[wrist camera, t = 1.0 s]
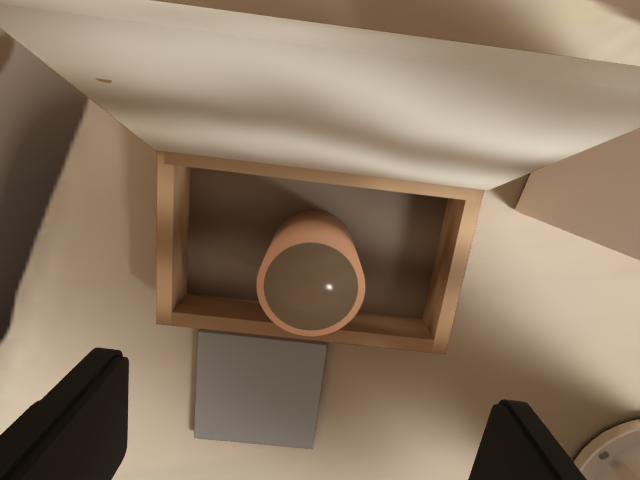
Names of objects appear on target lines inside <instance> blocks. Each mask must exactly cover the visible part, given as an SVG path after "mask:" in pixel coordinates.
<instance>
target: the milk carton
mask: <svg viewBox="0 0 640 480" xmlns="http://www.w3.org/2000/svg"><path fill="white" fill-rule="evenodd" d="M515 210H516V211H517V212H520V213H522V214H525V215H527V216H530V217H532V218H535V219H537V220H540V221H542V222H545V223H547V224H550V225H552V226H555V227H557V228H560V229H562V230H565V231H567V232H570V233H572V234H575V235H577V236H580V237H582V238H585V239H587V240H590V241H592V242H595V243H597V244H600V245H603V246H605V247H608V248H610V249H613V250H615V251H618V252H620V253H623V254H625V255H628V256H630V257H633V258H635V259H638V260H640V128H637V129H635V130H632V131H630V132H628V133H625V134H623V135H620V136H618V137H616V138H613V139H611V140H608V141H606V142H603V143H601V144H599V145H596V146H594V147H591V148H589V149H587V150H584V151H582V152H579V153H577V154H575V155H572V156H570V157H567V158H565V159H563V160H560V161H558V162H555V163H553V164H551V165H548V166H546V167H543V168H541V169H539V170H536V171H534V172H531V174H530V176H529V178H528V181H527V183H526V185H525V188H524V190H523V192H522V195H521V197H520V199H519V202H518V204H517V206H516V209H515Z"/></svg>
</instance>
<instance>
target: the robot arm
mask: <svg viewBox="0 0 640 480" xmlns="http://www.w3.org/2000/svg"><path fill="white" fill-rule="evenodd" d="M128 380H129V360H128V358H127V357H123V354H122V352H121V351H120V350H113V349H105V348H94V349H93V350H92V351H91V352H90V353H89V354H88V355H87V356H86V357H85V358H84V359H83V360H81V361H80V362H79V363H78V364H77V365H76V366H75V367H74V368H73V369H72V370H71V371H70V372H69V373H68V374H67V375H66V376H65V377H64V378H63V379H62V380H61V381H60V382H59V383H58V384H57V385H56V386H55V387H54V388H53V389H52V390H51V391H50V392H49V393H48V394H47V395H46V396H45V397H44V398H43V399H41V400H40V401H37V402H36V403H34V404H33V405H32V406H30V407H29V408H28V409H27V410H26V411H25V412H24V413H23V414H22V415H21V416H20V417H19V418H18V419H17V420H16V421H15V422H14V423H13V424H12V425H11V426H10V427H8V428H7V429H6V430H5V431H4V432H3V433H2V434H1V435H0V480H111V479H112V478H113V476H114V474H115V473H116V471H117V469H118V467H119V466H120V464H121V462H122V460H123V458H124V456H125V453H126V449H127V431H128ZM468 480H640V419H638V420H632V421H629V422H626V423H623V424H620V425H617V426H615V427H613V428H611V429H609V430H607V431H605V432H603V433H602V434H600V435H599V436H598V437H596V438H595V439H593V440H592V441H591V442H590V443H589V444H588V445H587V446H586V447H585V448H584V449H583V450H582V451H581V452H580V454H579V455H578V456H577V458H576V459H575V461H574V462H573V461H572V460H571V459H570V457H569V456H568V455H567V453H566V452H565V451H564V449H563V448H562V447H561V446H560V444H559V443H558V442H557V440H556V439H555V438H554V437H553V435H552V434H551V433H550V431H549V430H548V429H547V428H546V426H545V425H544V424H543V422H542V421H541V420H540V419H539V417H538V416H537V415H536V413H535V412H534V411H533V409H532V408H531V407H530V406H529V405H528V404H527V403H525V402H520V401H512V400H505V399H504V400H501V401H500V402H499V403H498V405H497V404H496V405H494V406H493V407H492V409H491V412H490V415H489V419H488V422H487V425H486V428H485V431H484V434H483V437H482V440H481V443H480V446H479V449H478V452H477V455H476V458H475V461H474V464H473V467H472V470H471V473H470V476H469V479H468Z"/></svg>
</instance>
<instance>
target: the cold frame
mask: <svg viewBox="0 0 640 480" xmlns="http://www.w3.org/2000/svg"><path fill="white" fill-rule="evenodd" d="M0 28H1V29H3V30H4V31H5V32H6V33H8V34H9V35H10V36H12V37H13V38H14V39H15V40H17V41H18V42H19V43H20V44H22V45H23V46H24V47H25V48H27V49H28V50H29V51H30V52H32V53H33V54H34V55H35V56H37V57H38V58H39V59H41V60H42V61H43V62H44V63H46V64H47V65H48V66H49V67H51V68H52V69H53V70H54V71H56V72H57V73H58V74H59V75H61V76H62V77H63V78H64V79H66V80H67V81H68V82H70V83H71V84H72V85H73V86H75V87H76V88H77V89H78V90H80V91H81V92H82V93H84V94H85V95H86V96H87V97H88V98H90V99H91V100H92V101H93V102H95V103H96V104H97V105H99V106H100V107H101V108H102V109H104V110H105V111H106V112H107V113H109V114H110V115H111V116H112V117H114V118H115V119H116V120H117V121H119V122H120V123H121V124H122V125H124V126H125V127H126V128H128V129H129V130H130V131H131V132H133V133H134V134H135V135H136V136H138V137H139V138H140V139H141V140H143V141H144V142H145V143H146V144H148V145H149V146H150V147H151V148H153V149H154V150H157V322H156V324H162V325H171V326H181V327H190V328H200V329H210V330H219V331H229V332H238V333H248V334H257V335H267V336H277V337H286V338H296V339H305V340H315V341H324V342H334V343H343V344H353V345H363V346H372V347H382V348H391V349H401V350H410V351H420V352H430V353H439V354H446V350H447V346H448V341H449V337H450V333H451V329H452V325H453V320H454V316H455V312H456V308H457V303H458V299H459V295H460V291H461V287H462V282H463V278H464V274H465V270H466V265H467V261H468V257H469V253H470V249H471V244H472V240H473V236H474V232H475V228H476V223H477V219H478V215H479V211H480V206H481V202H482V198H483V194H484V190H490V189H493V188H495V187H498V186H500V185H502V184H505V183H507V182H510V181H512V180H514V179H517V178H519V177H522V176H524V175H526V174H529V173H531V172H534V171H536V170H539V169H541V168H543V167H546V166H548V165H551V164H553V163H555V162H558V161H560V160H563V159H565V158H567V157H570V156H572V155H575V154H577V153H579V152H582V151H584V150H587V149H589V148H591V147H594V146H596V145H599V144H601V143H603V142H606V141H608V140H611V139H613V138H616V137H618V136H620V135H623V134H625V133H628V132H630V131H632V130H635V129H637V128H640V66H633V65H626V64H619V63H611V62H604V61H597V60H589V59H582V58H574V57H567V56H560V55H552V54H545V53H537V52H530V51H523V50H515V49H508V48H500V47H493V46H486V45H478V44H471V43H464V42H456V41H449V40H441V39H434V38H427V37H419V36H412V35H404V34H397V33H390V32H382V31H375V30H367V29H360V28H353V27H345V26H338V25H330V24H323V23H316V22H308V21H301V20H294V19H286V18H279V17H271V16H264V15H257V14H249V13H242V12H234V11H227V10H220V9H212V8H205V7H197V6H190V5H183V4H175V3H168V2H160V1H153V0H0ZM304 210H321V211H325V212H328V213H330V214H332V215H334V216H336V217H337V218H339V219H340V220H341V221H342V222H343V223H344V224H345V225H346V227H347V228H348V230H349V231H350V233H351V236H352V239H353V242H354V245H355V248H356V251H357V254H358V258H359V261H360V264H361V267H362V270H363V273H364V278H365V295H364V299H363V302H362V304H361V307H360V309H359V310H358V312H357V313H356V315H355V316H354V317H353V319H352V320H351V321H350V322H349V323H347V324H346V325H345V326H343V327H342V328H340V329H339V330H336V331H334V332H332V333H329V334H326V335H321V336H302V335H297V334H293V333H290V332H288V331H286V330H284V329H282V328H280V327H279V326H277V325H276V324H275V323H274V322H273V321H272V320H271V319H270V318H269V317H268V316H267V315H266V313H265V312H264V310H263V309H262V307H261V304H260V302H259V299H258V295H257V276H258V272H259V269H260V267H261V264H262V262H263V260H264V257H265V255H266V253H267V250H268V248H269V246H270V243H271V241H272V239H273V236H274V234H275V232H276V230H277V228H278V227H279V226H280V224H281V223H282V222H283V221H284V220H285V219H286V218H288V217H289V216H291V215H293V214H295V213H297V212H300V211H304Z"/></svg>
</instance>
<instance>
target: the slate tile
mask: <svg viewBox="0 0 640 480" xmlns="http://www.w3.org/2000/svg"><path fill="white" fill-rule="evenodd" d="M326 351H327V342H324V341H315V340H305V339H296V338H286V337H277V336H267V335H257V334H248V333H238V332H229V331H219V330H210V329H199V331H198V347H197V373H196V400H195V427H194V438H199V439H209V440H220V441H230V442H241V443H252V444H262V445H273V446H284V447H294V448H305V449H313V443H314V436H315V429H316V421H317V414H318V407H319V400H320V393H321V386H322V379H323V372H324V365H325V358H326Z"/></svg>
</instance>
